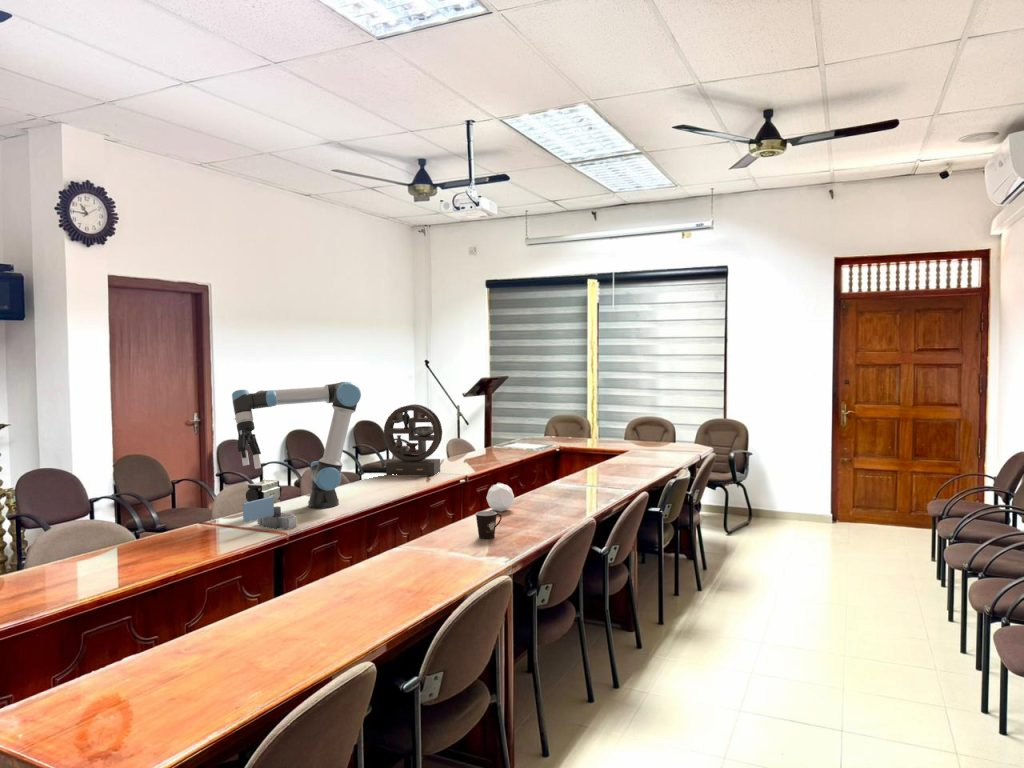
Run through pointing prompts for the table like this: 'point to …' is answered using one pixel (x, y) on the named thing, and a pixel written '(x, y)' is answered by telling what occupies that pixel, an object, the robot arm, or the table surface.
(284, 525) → the valve body
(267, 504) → the lever
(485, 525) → the coffee mug
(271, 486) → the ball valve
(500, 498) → the geodesic sphere
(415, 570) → the table surface
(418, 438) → the round curio shelf
